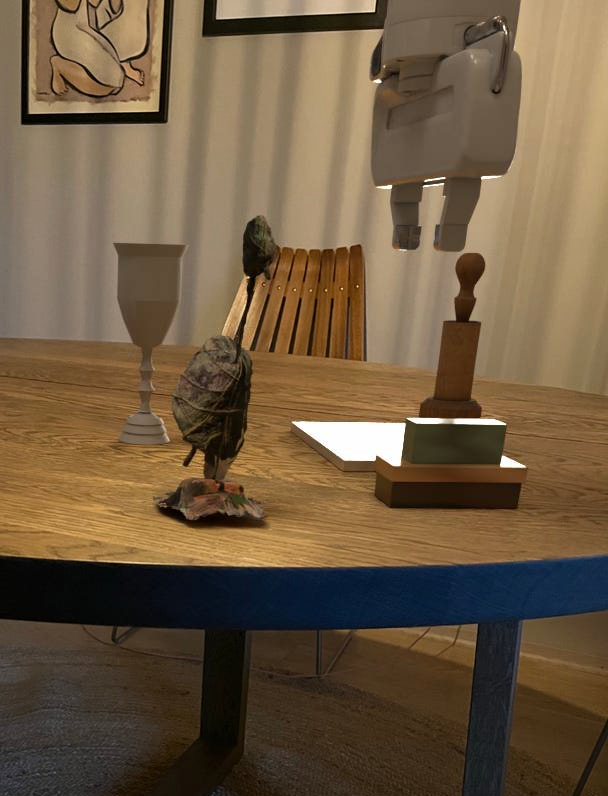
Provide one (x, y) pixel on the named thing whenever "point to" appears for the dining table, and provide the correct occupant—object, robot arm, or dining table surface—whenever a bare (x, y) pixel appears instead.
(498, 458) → the brush
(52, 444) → the dining table surface
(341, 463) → the tile
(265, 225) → the plant with pod
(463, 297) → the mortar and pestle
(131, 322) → the chalice
